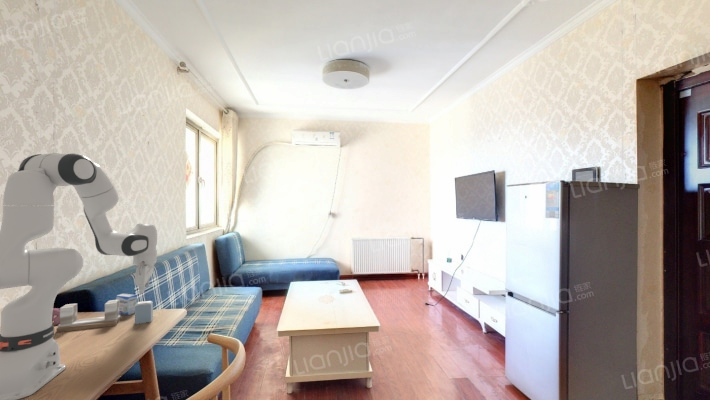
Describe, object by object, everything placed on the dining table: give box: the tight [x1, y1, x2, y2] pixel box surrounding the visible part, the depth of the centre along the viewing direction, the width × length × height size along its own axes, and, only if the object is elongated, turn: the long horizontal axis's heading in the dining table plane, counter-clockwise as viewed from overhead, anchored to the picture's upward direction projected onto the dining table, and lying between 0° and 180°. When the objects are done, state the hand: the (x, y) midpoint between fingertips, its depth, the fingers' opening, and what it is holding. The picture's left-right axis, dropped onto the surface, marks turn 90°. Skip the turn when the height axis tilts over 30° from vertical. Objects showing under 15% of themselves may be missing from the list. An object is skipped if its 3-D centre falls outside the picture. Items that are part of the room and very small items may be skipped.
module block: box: [134, 300, 154, 325], centre depth 141 cm, size 4×6×9 cm
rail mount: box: [55, 299, 122, 333], centre depth 136 cm, size 8×20×9 cm, turn 114°
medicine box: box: [115, 293, 138, 316], centre depth 151 cm, size 8×4×9 cm, turn 77°
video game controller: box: [52, 307, 60, 326], centre depth 138 cm, size 10×5×7 cm, turn 84°
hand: (144, 289), depth 141 cm, fingers open, 8 cm apart
